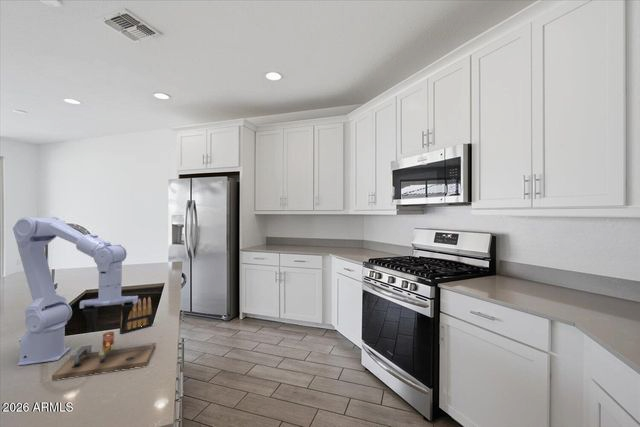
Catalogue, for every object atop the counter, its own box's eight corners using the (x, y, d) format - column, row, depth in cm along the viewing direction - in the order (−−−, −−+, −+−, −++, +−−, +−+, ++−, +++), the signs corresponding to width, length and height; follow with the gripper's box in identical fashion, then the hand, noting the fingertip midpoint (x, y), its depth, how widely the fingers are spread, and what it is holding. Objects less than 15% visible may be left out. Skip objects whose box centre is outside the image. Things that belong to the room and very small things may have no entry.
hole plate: (51, 381, 75) (52, 375, 75) (74, 358, 87) (75, 353, 87) (146, 366, 83) (146, 361, 83) (155, 347, 95) (155, 342, 95)
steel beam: (69, 360, 83) (69, 355, 83) (72, 357, 84) (72, 352, 84) (150, 349, 90) (150, 344, 90) (151, 347, 92) (151, 342, 92)
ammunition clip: (150, 325, 114) (151, 295, 115) (152, 326, 113) (152, 296, 113) (119, 333, 106) (120, 301, 106) (121, 334, 105) (121, 302, 105)
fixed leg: (70, 367, 79) (70, 357, 79) (81, 356, 85) (82, 346, 85) (80, 366, 80) (81, 355, 80) (91, 354, 86) (91, 344, 86)
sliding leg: (95, 363, 81) (96, 341, 81) (104, 352, 87) (105, 332, 87) (107, 361, 82) (107, 340, 82) (115, 350, 88) (115, 330, 88)
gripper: (75, 289, 80) (74, 337, 80) (134, 285, 86) (133, 330, 85) (85, 284, 87) (84, 328, 87) (139, 280, 92) (139, 322, 92)
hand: (109, 328), depth 87 cm, fingers open, 7 cm apart
